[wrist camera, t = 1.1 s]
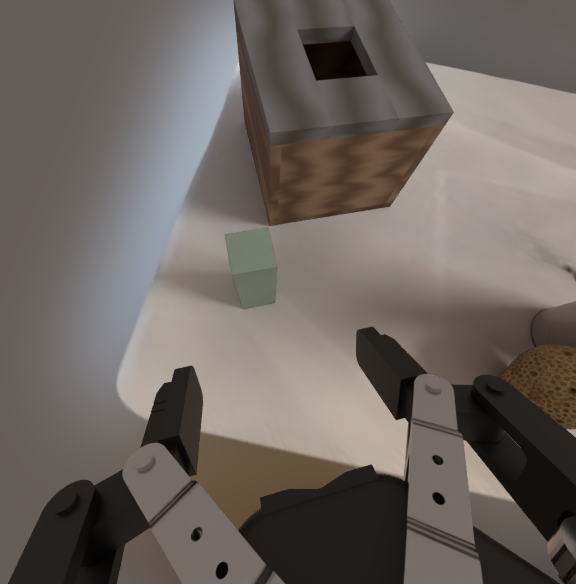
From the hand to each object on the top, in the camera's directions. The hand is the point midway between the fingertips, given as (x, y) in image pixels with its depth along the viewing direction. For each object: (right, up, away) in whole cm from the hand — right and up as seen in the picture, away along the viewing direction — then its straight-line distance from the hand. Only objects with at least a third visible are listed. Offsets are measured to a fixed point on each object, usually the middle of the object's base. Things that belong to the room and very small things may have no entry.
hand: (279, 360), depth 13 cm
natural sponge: (+31, -9, +23) cm, 39 cm away
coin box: (+5, +26, +33) cm, 42 cm away
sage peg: (-4, +4, +24) cm, 25 cm away
